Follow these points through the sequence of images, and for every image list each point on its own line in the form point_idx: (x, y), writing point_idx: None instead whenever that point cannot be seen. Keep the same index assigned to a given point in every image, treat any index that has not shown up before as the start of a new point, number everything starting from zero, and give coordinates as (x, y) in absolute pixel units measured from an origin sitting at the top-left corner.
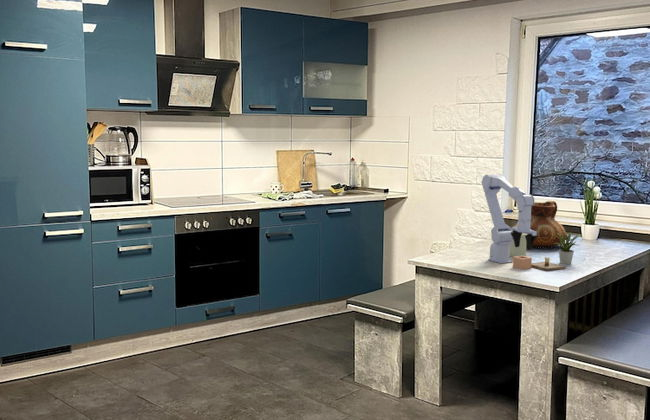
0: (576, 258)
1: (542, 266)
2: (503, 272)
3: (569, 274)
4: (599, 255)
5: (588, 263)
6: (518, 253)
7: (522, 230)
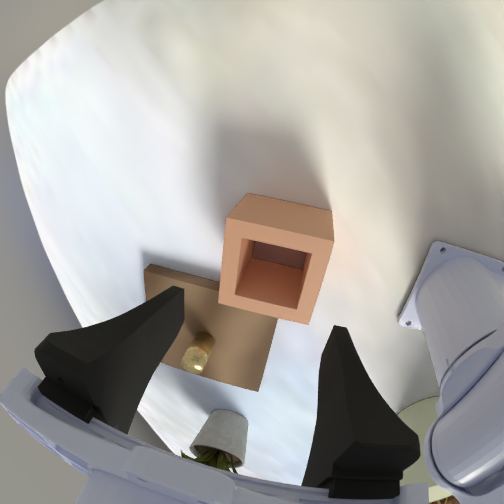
0: (255, 461)
1: (190, 299)
2: (258, 22)
3: (83, 277)
4: None
5: (192, 435)
6: (415, 417)
7: (108, 464)
